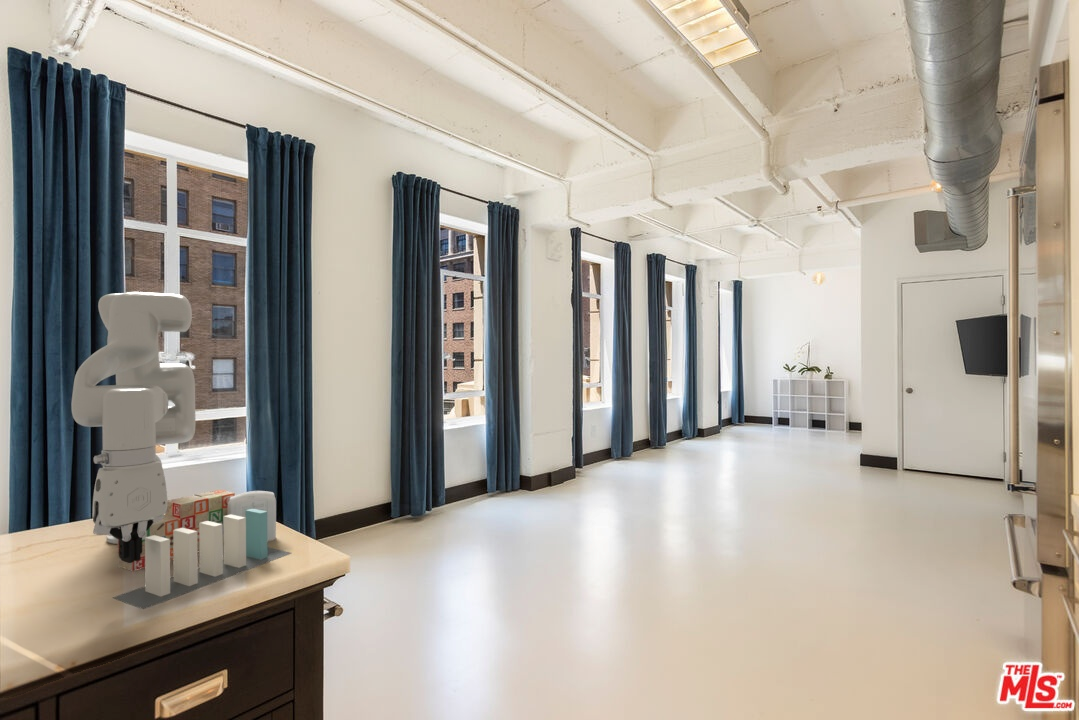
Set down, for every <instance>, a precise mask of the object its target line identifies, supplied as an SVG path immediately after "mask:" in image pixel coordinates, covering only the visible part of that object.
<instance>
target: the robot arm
mask: <svg viewBox="0 0 1079 720" xmlns="http://www.w3.org/2000/svg"><path fill="white" fill-rule="evenodd" d="M97 307H98V312H99V316H100V318H101V321H102V323H103V325H104V326H105V328H106V330H107V338H106V339H107V340H106V341H107V342H106V344H107V345H105V346H103V347H101V348H99V349H98V350H96V351H95V352H94V353H92V354H91V355H90V356H89V357H87V359H85V360H84V361H83V362H82V364H81V365H80V366H79V368H78V369H77V371H76V374H75V376H74V381H73V388H72V396H71V404H70V405H71V414H72V418H73V419H74V421H75V422H76V423H77V424H78V425H80V426H81V427H82V426H83V427H88V428H92V427H93V428H94V427H96V428H97V427H102V450H101V451H100V452H101V454H98V455H94V457H93V463H94V464H100V465H101V466H102V467H99V468H98V470H97V474H96V479H95V484H94V489H93V496H92V521H93V524H94V526H93V531H92V534H93V535H96V536H106V542H107V543H109V544H114V545H115V544H116V545H118V540H119V558H120V559H121V560H122V561H124V562H127V563H132V562H134V561H139V560H140V559H141V556H140V554H141V553H142V537H144V536H145V534H146V531H147V530H148V529H149V527H150V526H151V525H152V524H154V523H156V522H158V521H160V520H162V519H164V515H165V513H166V512H167V507H168V502H167V500H168V491H167V484H166V483H167V482H166V478H165V477H166V476H165V474H164V467H163V462H162V460H161V458H160V457H159V456H158V455H157V452H156V450H157V448H156V447H157V446H161V445H173V444H184V443H187V442H189V441H191V440H192V439H193V438H194V436H195V432H196V421H197V420H196V379H195V376H194V372H193V369H192V368H191V367H190V366H189V365H188V364H185V363H176V362H175V363H171V362H170V363H161V362H160V358H159V357H160V356H159V355H160V353H159V352H160V346H159V332H170V333H171V332H172V333H174V332H175V333H177V332H178V333H186V332H187V331H188V330H189V329H190V327H191V325H192V320H193V319H192V318H193V310H192V305H191V303H190V301H189V299H188V298H187V297H186V296H185V295H182V294H177V293H176V294H175V293H161V292H143V291H140V292H139V291H130V292H129V291H128V292H121V293H120V292H118V293H109V294H105V295H103V296H101V297H100V298H99V300H98V305H97ZM114 375H115V384H112V385H106V384H105V385H97V384H99V383H100V382H101V381H103V380H105V379H107V378H110V377H111V376H114ZM169 402H170V403H172V404H174V405H170V406H169ZM130 524H131V530H130V529H129V525H130Z"/></svg>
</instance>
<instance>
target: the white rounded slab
mask: <svg viewBox="0 0 1079 720" xmlns="http://www.w3.org/2000/svg"><path fill="white" fill-rule="evenodd" d="M248 509H257V510H263V511H267V542H272V541H275V540H276V538H277V537H276V536H277V532H276V531H277V500H276V497H275V493H274V492H273V491H267V490H266V491H265V490H251V491H245V492H242V493H238V494H235V496H233V497H230V500H229V503H228V507H227V515H230V514H231V515H236V516H241V517H245V510H248Z"/></svg>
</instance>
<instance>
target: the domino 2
mask: <svg viewBox="0 0 1079 720" xmlns="http://www.w3.org/2000/svg"><path fill="white" fill-rule="evenodd" d="M173 552H174V559H173V576H174V582H177V583H181V584H184V585H187V586H191V585H194V584H197V583H198V568H199V567H198V564H199V563H198V552H197V531H194V530H190V529H185V528H179V529H175V530H173Z"/></svg>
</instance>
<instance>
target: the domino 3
mask: <svg viewBox="0 0 1079 720" xmlns="http://www.w3.org/2000/svg"><path fill="white" fill-rule="evenodd" d="M199 542H200V551H199V567H200V572H201V573H204V574H208V575H211V576H214V577H216V576H218V575H221V574H223V559H224V544H223V524H220V523H215V522H211V521H204V522H201V523H199Z"/></svg>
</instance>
